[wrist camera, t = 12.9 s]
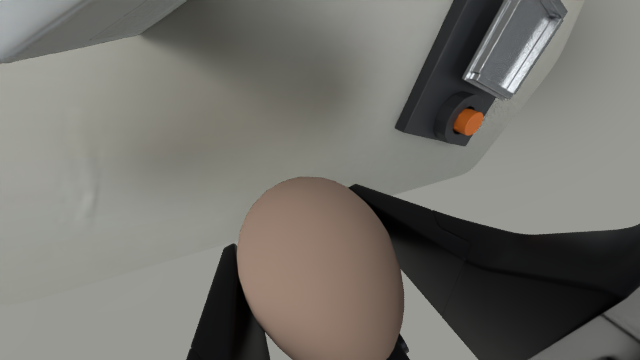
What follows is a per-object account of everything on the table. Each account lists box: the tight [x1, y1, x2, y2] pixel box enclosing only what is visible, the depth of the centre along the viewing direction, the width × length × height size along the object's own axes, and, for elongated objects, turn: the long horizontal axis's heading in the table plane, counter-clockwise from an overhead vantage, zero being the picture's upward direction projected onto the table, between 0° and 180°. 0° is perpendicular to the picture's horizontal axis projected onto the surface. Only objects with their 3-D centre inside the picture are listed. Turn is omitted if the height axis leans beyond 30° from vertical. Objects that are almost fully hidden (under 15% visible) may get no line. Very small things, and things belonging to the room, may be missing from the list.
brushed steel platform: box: [461, 0, 568, 100], centre depth 21 cm, size 9×9×1 cm
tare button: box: [453, 108, 483, 136], centre depth 25 cm, size 3×3×2 cm
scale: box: [395, 0, 504, 146], centre depth 24 cm, size 15×13×3 cm
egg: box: [237, 177, 404, 360], centre depth 8 cm, size 5×5×7 cm
